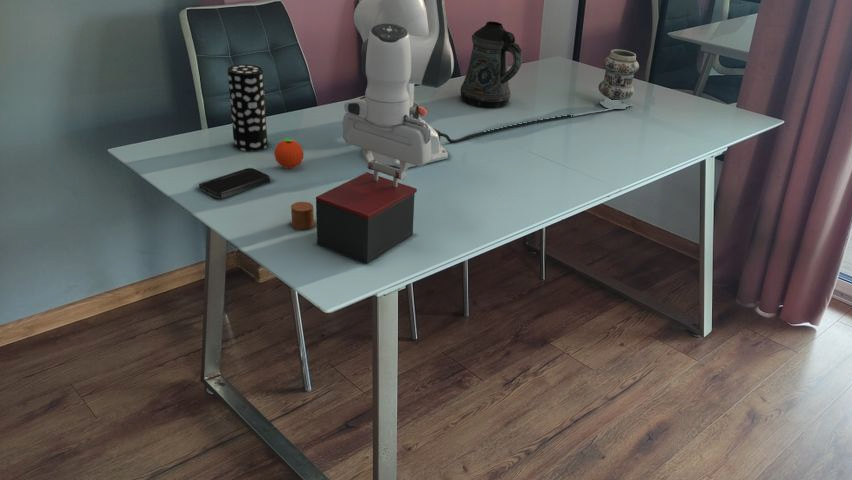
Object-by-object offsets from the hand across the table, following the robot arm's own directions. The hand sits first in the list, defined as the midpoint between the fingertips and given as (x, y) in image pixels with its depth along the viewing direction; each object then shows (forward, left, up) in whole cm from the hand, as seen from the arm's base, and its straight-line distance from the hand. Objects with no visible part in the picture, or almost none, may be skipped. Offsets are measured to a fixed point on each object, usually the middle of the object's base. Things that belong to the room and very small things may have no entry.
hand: (385, 173), depth 159 cm
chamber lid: (+5, +3, -3) cm, 7 cm away
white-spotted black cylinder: (+14, -55, -13) cm, 58 cm away
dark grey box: (+6, +3, -13) cm, 15 cm away
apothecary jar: (-109, -56, -13) cm, 123 cm away
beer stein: (-68, -71, -13) cm, 99 cm away
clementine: (+9, -39, -13) cm, 42 cm away
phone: (+24, -32, -13) cm, 42 cm away
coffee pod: (+16, -8, -13) cm, 22 cm away
